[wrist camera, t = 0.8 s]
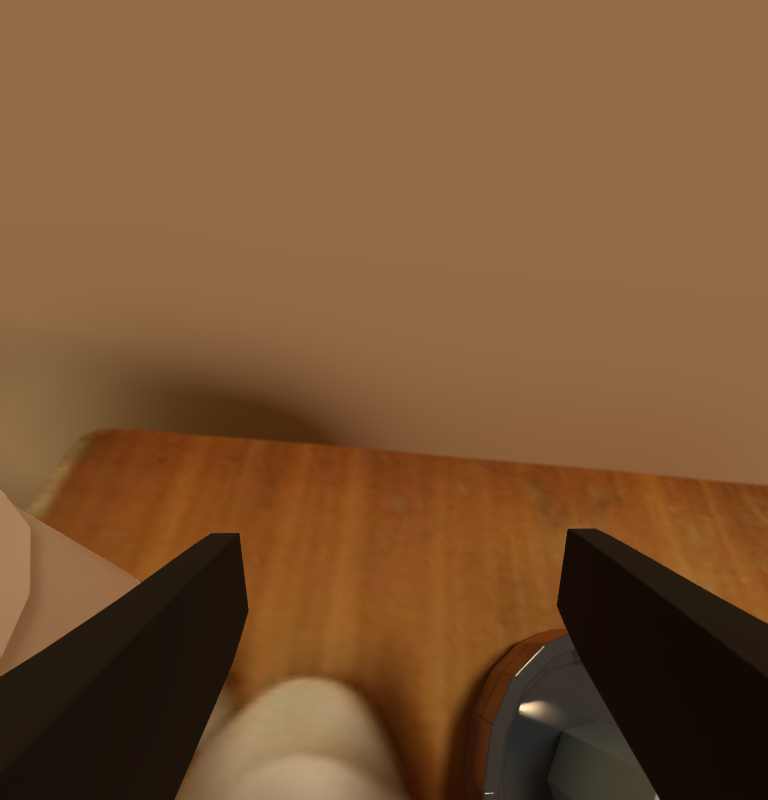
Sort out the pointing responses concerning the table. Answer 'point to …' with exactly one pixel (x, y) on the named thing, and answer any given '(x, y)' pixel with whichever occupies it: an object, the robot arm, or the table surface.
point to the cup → (597, 766)
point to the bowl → (528, 718)
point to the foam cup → (47, 585)
